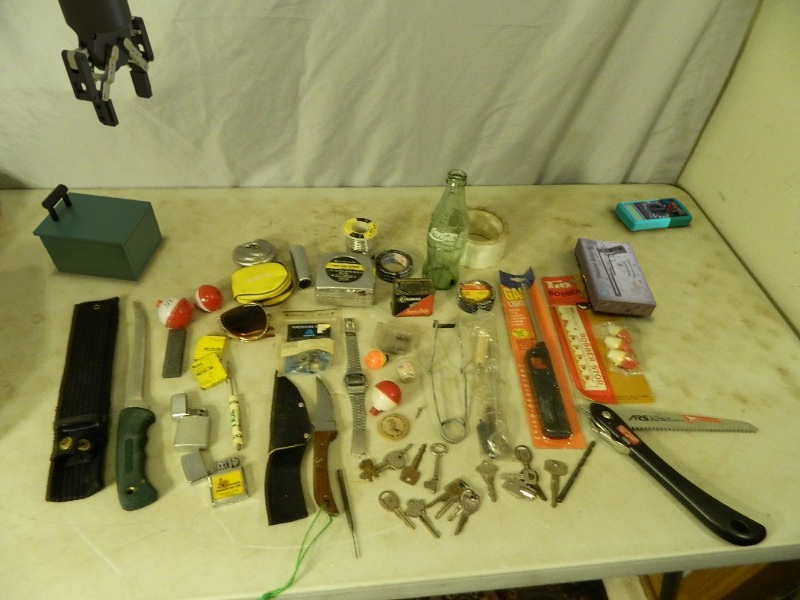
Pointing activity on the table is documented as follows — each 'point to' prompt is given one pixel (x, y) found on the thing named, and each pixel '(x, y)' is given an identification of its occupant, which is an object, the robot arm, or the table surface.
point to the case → (108, 253)
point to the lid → (90, 217)
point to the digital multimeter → (653, 214)
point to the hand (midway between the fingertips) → (128, 110)
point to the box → (614, 278)
